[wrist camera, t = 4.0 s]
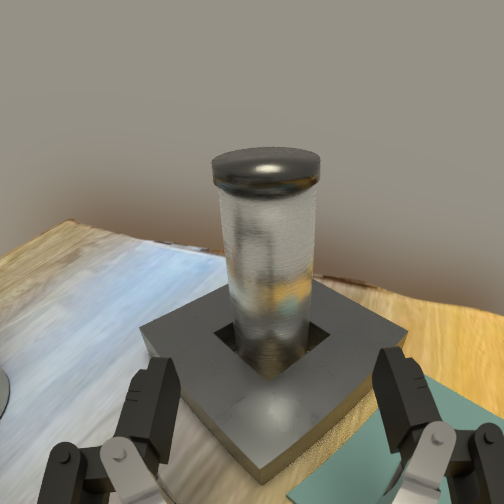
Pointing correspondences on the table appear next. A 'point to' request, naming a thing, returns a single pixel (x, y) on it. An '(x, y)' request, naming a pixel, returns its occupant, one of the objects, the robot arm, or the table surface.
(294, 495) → the rubber mat
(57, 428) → the table surface
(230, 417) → the collar block
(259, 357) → the tumbler with black lid
